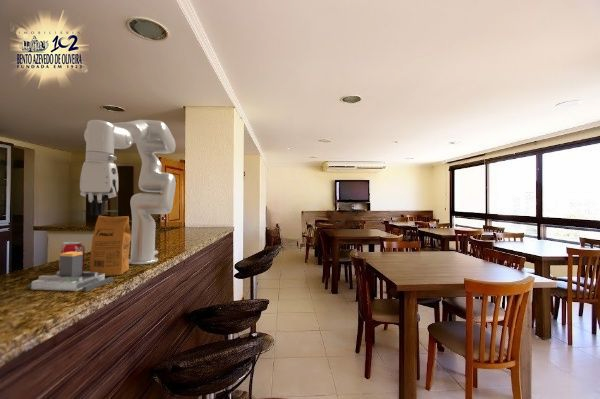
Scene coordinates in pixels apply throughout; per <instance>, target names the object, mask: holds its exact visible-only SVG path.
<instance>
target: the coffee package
mask: <svg viewBox="0 0 600 399" xmlns="http://www.w3.org/2000/svg"><path fill="white" fill-rule="evenodd" d="M97 216H98V217H97V219H96V222H95V227H94V230H93V231H94V232H93V236H92V238H91V240H92V241H91V249H90V257H89V272H97V273H105V277H114V276H122V275H123V274H124V273H126V272H127V271H129V269H130V264H129V259H130V258H129V255H130V249H131V231H130V230H131V228H130V223H129V222H130V217H129V215H128V216H127V215H126V216H113V217H112V216H104V215H97Z"/></svg>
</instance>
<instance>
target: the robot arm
mask: <svg viewBox="0 0 600 399" xmlns="http://www.w3.org/2000/svg"><path fill="white" fill-rule="evenodd" d="M86 124H87V125H86V128H85V130H84V132H83V137H84V138H83V139H84V140H85V142H86V143H85V144H86V145H85V161H84V162H83V164H82V167H81V171H80V178H79V191H80V193H79V194H80V196H82V197H84V198H86V199H87V200H88V202H89V203H90V209H89V211H90V216H104V215H105V212H106V204H107V203H108V201H109V200H110V199H112V198H115V197H117V193H118V192H119V173H118V168H117V164H116V163H115V161H117V159H118V157H117V155H115V149H118V150H126V149H128V148H130V147H131V146H132V145H133V144H135V145H136V148H137V151H138V154H139V156H140V159H141V167H140V173H139V179H138V188H139V190H140V191H142V192H139V193H135V194H134V195H132V196H131V198H130V201H129V202H130V203H129V204H130V210H131V211H130V212H131V236H130V258H129V265H148V264H149V265H150V264H154V263H156V262H158V261H159V258H158V257H155V256H156V255H158V254H159V251H158V250H156V249H155V246H156V227H157V226H156V225H157V224H156V221H155V219H154V217H152V215H168V214H170V213H171V212H172V211H173V210H172V209H173V206H174V199H175V194H176V185H177V183H176V181H177V180H176V177H175V176H174V174H173V173H170V172H162V167H163V166H162V165H163V164H162V162H161V161H160V159H159V158H158V157H157V156H156V154H166V155H169V154H170V155H171V154H173V153H174V152H175V151H176V140H175V138H174V136H173V133H172V132H171V131H170V128H169V127H168V125H167V124H166V123H165V122H163V121H162V120H152V119H151V120H150V119H136V120H131V121H126V122H125V121H122V122H109V121H105V120H101V119H91V120H88V122H87V123H86Z"/></svg>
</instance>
